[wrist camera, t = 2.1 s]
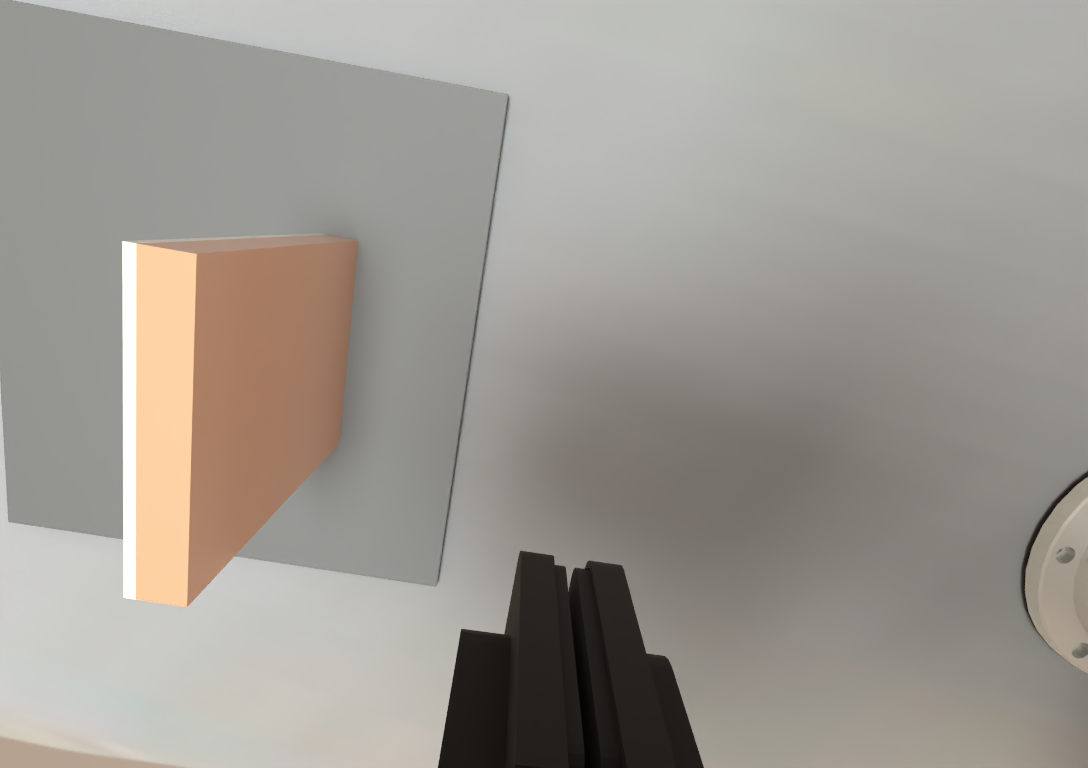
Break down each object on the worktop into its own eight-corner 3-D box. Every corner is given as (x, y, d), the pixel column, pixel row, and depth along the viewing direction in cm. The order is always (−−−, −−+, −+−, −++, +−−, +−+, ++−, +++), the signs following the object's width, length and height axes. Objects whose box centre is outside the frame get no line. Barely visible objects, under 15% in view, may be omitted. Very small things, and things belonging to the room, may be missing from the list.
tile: (358, 240, 25) (196, 254, 13) (339, 443, 27) (186, 607, 16) (319, 233, 25) (122, 241, 13) (303, 437, 27) (123, 597, 15)
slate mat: (508, 97, 24) (507, 94, 23) (438, 579, 30) (436, 586, 29) (-8, -1, 23) (-22, -6, 23) (19, 515, 29) (8, 521, 28)
